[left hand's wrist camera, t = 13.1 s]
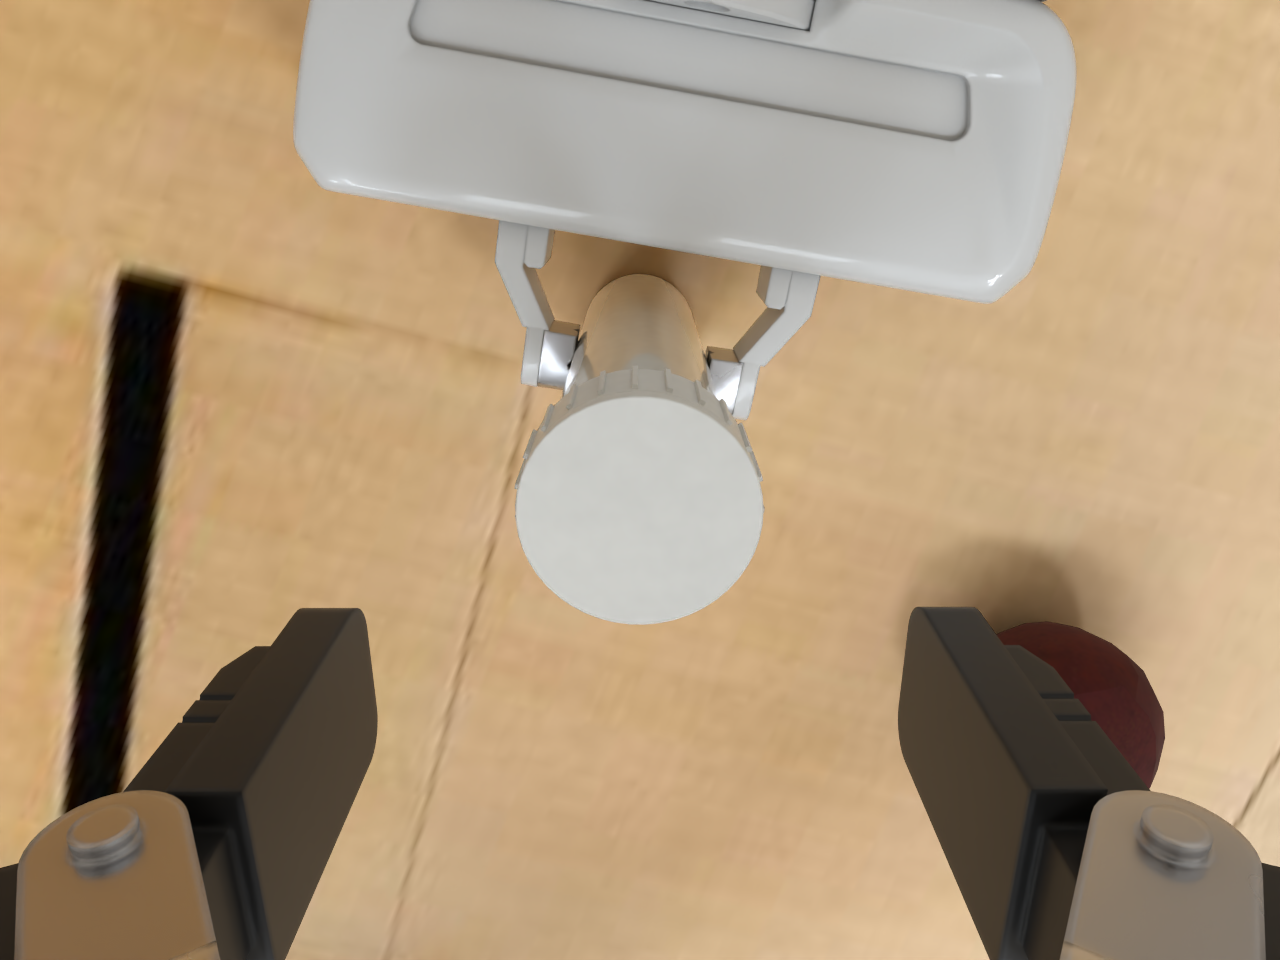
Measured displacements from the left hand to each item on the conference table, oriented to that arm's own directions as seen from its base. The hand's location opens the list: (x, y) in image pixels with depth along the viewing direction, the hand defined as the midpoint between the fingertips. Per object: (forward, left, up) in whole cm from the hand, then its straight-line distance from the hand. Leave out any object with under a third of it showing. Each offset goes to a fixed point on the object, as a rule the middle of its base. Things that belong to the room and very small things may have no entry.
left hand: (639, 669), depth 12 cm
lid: (0, 0, -5) cm, 5 cm away
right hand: (0, -1, -16) cm, 16 cm away
